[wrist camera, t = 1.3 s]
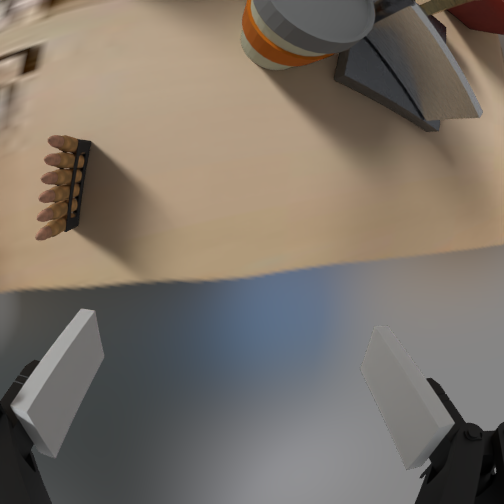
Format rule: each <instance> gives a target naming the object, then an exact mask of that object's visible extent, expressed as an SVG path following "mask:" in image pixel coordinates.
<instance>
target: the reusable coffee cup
mask: <svg viewBox="0 0 504 504" xmlns="http://www.w3.org/2000/svg"><path fill="white" fill-rule="evenodd" d="M374 21H375V8H374V4H373V1H372V0H247V3H246V7H245V10H244V14H243V19H242V26H243V30H242V33H241V45H242V48H243V50H244V52H245V53H246V55H247V56H248V57H249V58H250V59H251V60H252V61H253V62H254V63H256V64H257V65H259V66H261V67H263V68H266V69H270V70H284V69H288V68H290V67H293V66H303V65H307V64H310V63H313V62H315V61H318V60H321V59H324V58H327V57H330V56H332V55H333V54H335V53H339V52H342V51H345V50H348V49H349V48H350V47H352V46H353V45H355V44H356V43H357V42H359V41H360V40H361V39H363V38H364V37H365V36H367V34H368V33H369V32H370V31H371V29H372V27H373V25H374Z"/></svg>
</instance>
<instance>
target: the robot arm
mask: <svg viewBox="0 0 504 504" xmlns="http://www.w3.org/2000/svg"><path fill="white" fill-rule="evenodd" d="M103 358H104V353H103V348H102V344H101V339H100V334H99V329H98V324H97V319H96V314H95V311H94V310H87V309H81V310H80V311H79V312H78V313H77V315H76V316H75V317H74V319H73V320H72V321H71V322H70V323H69V325H68V326H67V327H66V328H65V330H64V331H63V332H62V334H61V335H60V336H59V337H58V339H57V340H56V341H55V343H54V344H53V345H52V347H51V348H50V349H49V351H48V352H47V353H46V355H45V356H44V357H43V359H42V360H41V361H37V360H34V361H32V362H31V363H29V364H28V365H26V366H25V368H24V369H23V370H22V372H21V373H20V376H18V377H17V378H16V380H15V382H13V384H12V385H11V387H10V388H9V389H8V391H7V392H6V394H5V395H4V397H3V398H2V400H1V401H0V504H52V502H51V500H50V498H49V495H48V493H47V491H46V488H45V486H44V483H43V481H42V478H41V475H40V472H39V470H38V467H37V464H36V461H35V458H34V455H33V453H32V451H31V448H32V446H33V444H34V445H35V447H36V448H37V450H38V451H39V452H40V453H42V454H45V455H47V456H50V457H53V458H56V456H57V454H58V451H59V449H60V447H61V444H62V442H63V440H64V438H65V436H66V433H67V431H68V429H69V427H70V424H71V422H72V420H73V418H74V416H75V414H76V412H77V409H78V408H79V405H80V403H81V402H82V399H83V397H84V395H85V393H86V391H87V389H88V387H89V385H90V383H91V381H92V380H93V378H94V376H95V374H96V372H97V370H98V368H99V366H100V364H101V362H102V360H103ZM360 371H361V373H362V375H363V377H364V379H365V381H366V383H367V385H368V387H369V389H370V391H371V393H372V396H373V398H374V400H375V402H376V404H377V406H378V408H379V410H380V413H381V415H382V417H383V419H384V421H385V423H386V426H387V428H388V430H389V432H390V434H391V436H392V439H393V441H394V443H395V445H396V448H397V450H398V452H399V454H400V457H401V459H402V461H403V464H404V466H405V468H406V470H410V469H413V468H416V467H420V466H422V465H423V464H424V463H425V461H426V460H427V459H428V458H429V459H430V461H431V464H430V466H429V467H428V468H427V469H426V470H425V471H424V472H423V473H422V475H421V476H420V478H423V477H424V475H425V474H426V476H425V479H424V481H423V484H422V487H421V489H420V492H419V494H418V497H417V500H416V502H415V504H504V422H503V423H501V424H500V425H499V426H498V428H497V429H496V430H495V431H483V430H482V429H481V428H480V427H479V426H477V425H475V424H473V423H466V422H465V421H464V420H463V418H462V417H461V415H460V414H459V412H458V411H457V409H456V408H455V406H454V405H453V403H452V402H451V401H450V400H449V398H448V396H447V394H445V392H444V390H443V389H442V388H441V386H440V384H438V383H437V382H436V381H434V380H433V379H432V378H427V379H426V378H425V377H424V375H423V374H422V373H421V371H420V370H419V368H418V367H417V365H416V364H415V362H414V361H413V360H412V358H411V357H410V355H409V354H408V353H407V351H406V350H405V348H404V347H403V346H402V344H401V343H400V341H399V340H398V339H397V337H396V336H395V334H394V333H393V332H392V330H391V329H390V328H389V326H388V325H386V326H375V327H374V329H373V332H372V335H371V339H370V342H369V345H368V348H367V350H366V353H365V356H364V359H363V362H362V365H361V368H360ZM495 467H496V474H495V472H494V468H495Z"/></svg>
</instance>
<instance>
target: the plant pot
mask: <svg viewBox="0 0 504 504" xmlns="http://www.w3.org/2000/svg"><path fill="white" fill-rule="evenodd" d="M447 10H448V11H449V12H451V13H452V14H453V15H454V16H456V17H457V18H458V19H459V20H460V21H461V22H463V23H464V24H465V25H466V26H467V27H468V28H470V29H473V30H477V31H483V32H489V33H495V34H502V35H504V0H475V1H471V2H468V3H465V4H462V5H459V6H456V7H453V8H450V9H447Z"/></svg>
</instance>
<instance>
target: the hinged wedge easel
mask: <svg viewBox="0 0 504 504" xmlns="http://www.w3.org/2000/svg"><path fill="white" fill-rule="evenodd" d="M373 4H374V8H375V21H374V25H373V27H372V29H371V31H370V32H369V33H368V34H367V36H366V37H367V38H368V39H369V40H370V41H371V43H372V44H373V45H374V46H375V48H376V49H377V50H378V51H379V53H380V54H381V55H382V56H383V58H384V59H385V60H386V62H387V63H388V64H389V66H390V67H391V68H392V70H393V71H394V73H395V74H396V75H397V77H398V78H399V80H400V81H401V82H402V84H403V85H404V87H405V88H406V90H407V91H408V93H409V94H410V96H411V97H412V99H413V100H414V102H415V103H416V105H417V107H418V108H419V110H420V111H421V113H422V115H423V116H424V118H425V120H426V121H431V120H445V119H463V118H480V116H481V115H482V113H483V111H482V109H481V107H480V105H479V103H478V100H477V98H476V96H475V94H474V92H473V90H472V89H471V87H470V85H469V83H468V81H467V79H466V77H465V75H464V74H463V72H462V70H461V68H460V67H459V65H458V63H457V62H456V60H455V58H454V57H453V55H452V53H451V52H450V50H449V48H448V47H447V45H446V44H445V42H444V41H443V39H442V38H441V36H440V35H439V33H438V32H437V30H436V29H435V28H434V26H433V25H432V23H431V22H430V21H429V19H428V18H427V16H426V15H425V14H424V12H423V11H422V10H421V9H420V7H419V6H418V5H417V3H416V2H415V0H378V1H376V2H374V3H373Z"/></svg>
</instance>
